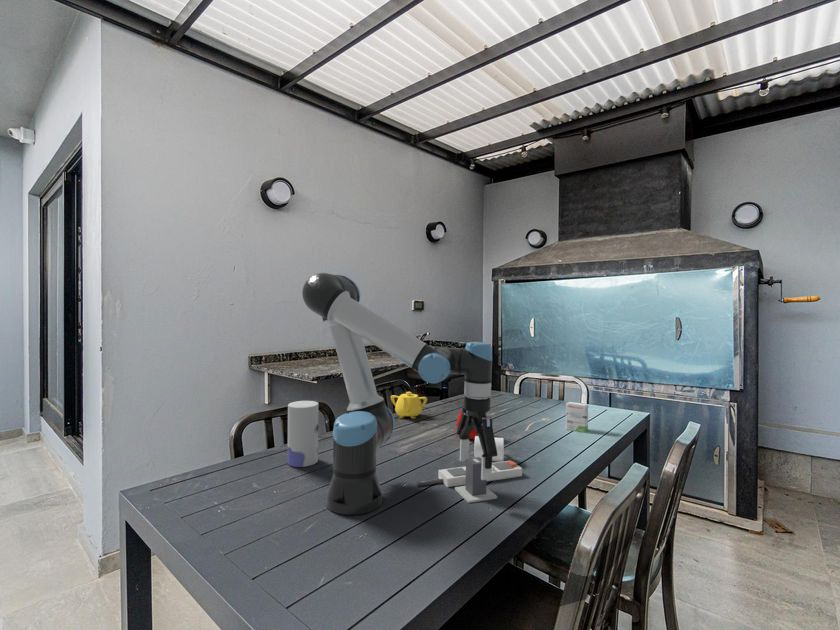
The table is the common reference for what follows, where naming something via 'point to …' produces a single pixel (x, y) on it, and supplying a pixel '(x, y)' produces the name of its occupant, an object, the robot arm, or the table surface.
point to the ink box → (577, 417)
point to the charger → (474, 477)
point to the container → (302, 433)
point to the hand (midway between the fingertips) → (474, 469)
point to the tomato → (473, 433)
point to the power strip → (459, 474)
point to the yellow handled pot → (408, 404)
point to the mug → (499, 446)
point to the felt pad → (470, 498)
